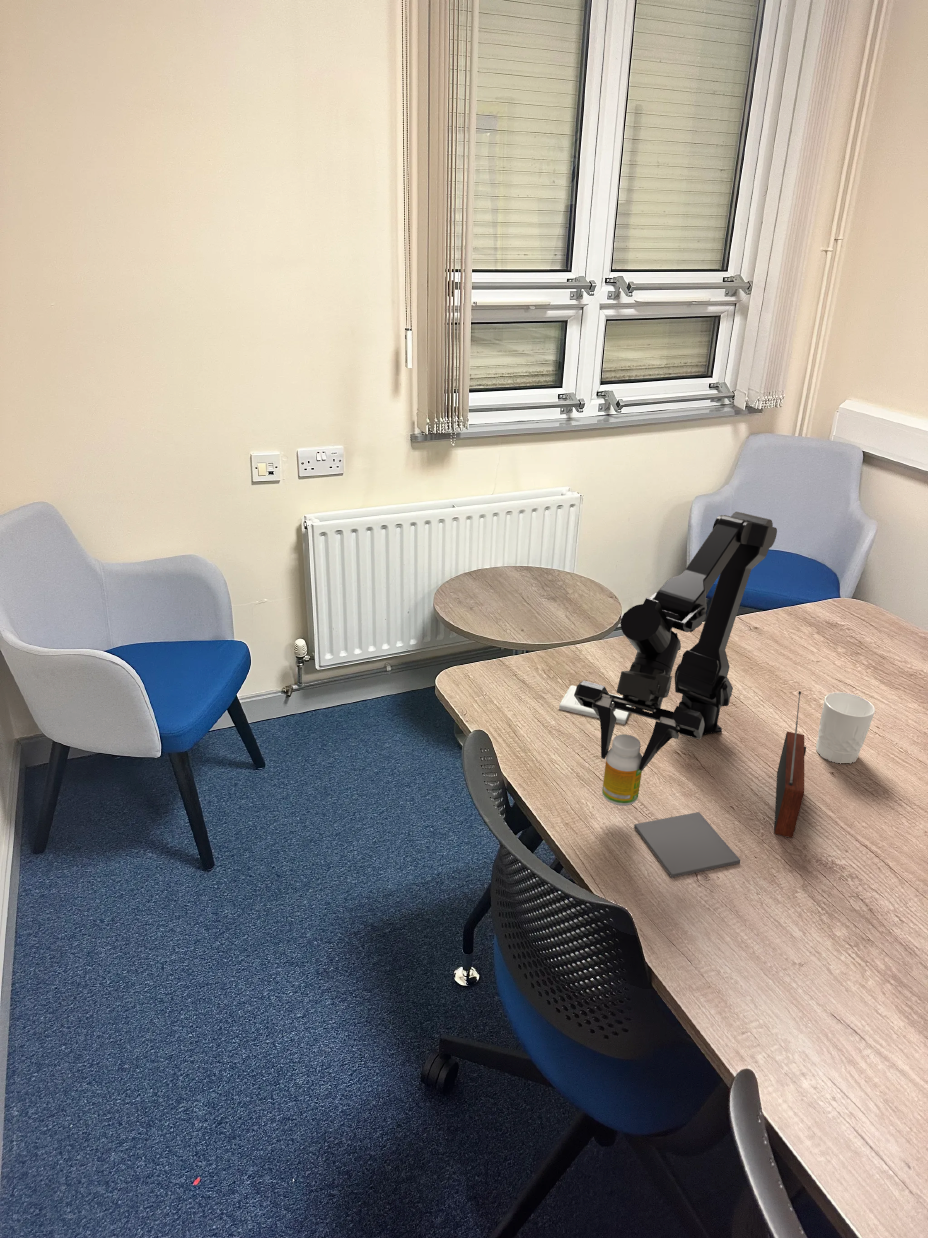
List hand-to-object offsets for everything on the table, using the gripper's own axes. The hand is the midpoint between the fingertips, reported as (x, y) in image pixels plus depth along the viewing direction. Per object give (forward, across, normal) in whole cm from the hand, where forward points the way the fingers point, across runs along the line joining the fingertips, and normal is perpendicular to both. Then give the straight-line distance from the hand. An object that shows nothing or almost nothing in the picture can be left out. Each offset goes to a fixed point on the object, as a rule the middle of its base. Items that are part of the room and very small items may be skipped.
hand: (621, 764), depth 121 cm
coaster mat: (+7, +11, +8) cm, 15 cm away
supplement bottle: (+4, 0, +6) cm, 7 cm away
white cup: (-18, +28, +34) cm, 48 cm away
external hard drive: (-13, -14, +30) cm, 36 cm away
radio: (-5, +22, +21) cm, 31 cm away
